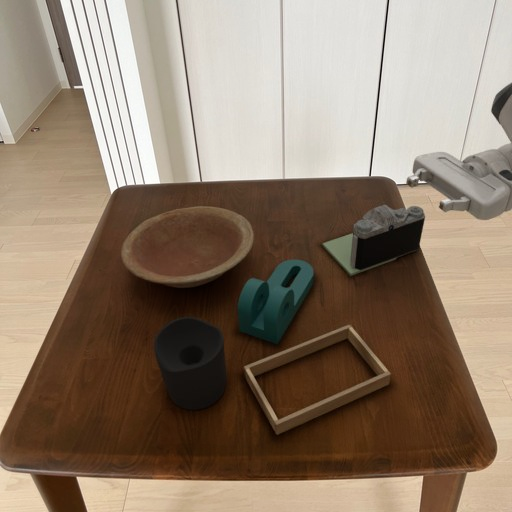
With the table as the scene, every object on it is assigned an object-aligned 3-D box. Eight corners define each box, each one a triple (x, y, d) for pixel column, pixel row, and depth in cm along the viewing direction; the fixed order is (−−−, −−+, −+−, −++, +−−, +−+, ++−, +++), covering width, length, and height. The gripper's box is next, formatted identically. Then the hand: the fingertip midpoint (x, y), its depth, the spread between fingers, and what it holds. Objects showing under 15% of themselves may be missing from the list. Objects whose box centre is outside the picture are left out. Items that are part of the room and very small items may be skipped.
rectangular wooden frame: (389, 384, 74) (391, 373, 72) (276, 435, 68) (276, 425, 67) (348, 334, 81) (349, 324, 80) (244, 376, 76) (243, 366, 74)
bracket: (277, 344, 80) (276, 309, 75) (239, 331, 83) (236, 296, 78) (318, 274, 93) (320, 240, 88) (284, 265, 95) (284, 231, 90)
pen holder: (219, 353, 80) (212, 308, 73) (237, 401, 73) (231, 356, 66) (160, 371, 77) (148, 326, 71) (172, 422, 71) (160, 378, 64)
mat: (396, 259, 95) (396, 256, 94) (350, 276, 92) (350, 273, 92) (365, 231, 102) (365, 228, 102) (322, 245, 99) (322, 243, 99)
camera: (400, 230, 101) (408, 186, 94) (423, 249, 96) (432, 204, 89) (336, 252, 96) (339, 208, 90) (356, 273, 91) (361, 228, 85)
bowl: (257, 230, 104) (255, 198, 99) (253, 316, 85) (250, 281, 80) (143, 233, 105) (135, 200, 100) (115, 317, 87) (104, 282, 82)
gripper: (448, 139, 105) (393, 155, 101) (527, 185, 90) (466, 206, 86) (442, 166, 109) (389, 183, 105) (517, 214, 94) (459, 236, 90)
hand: (424, 194), depth 95 cm, fingers open, 8 cm apart
